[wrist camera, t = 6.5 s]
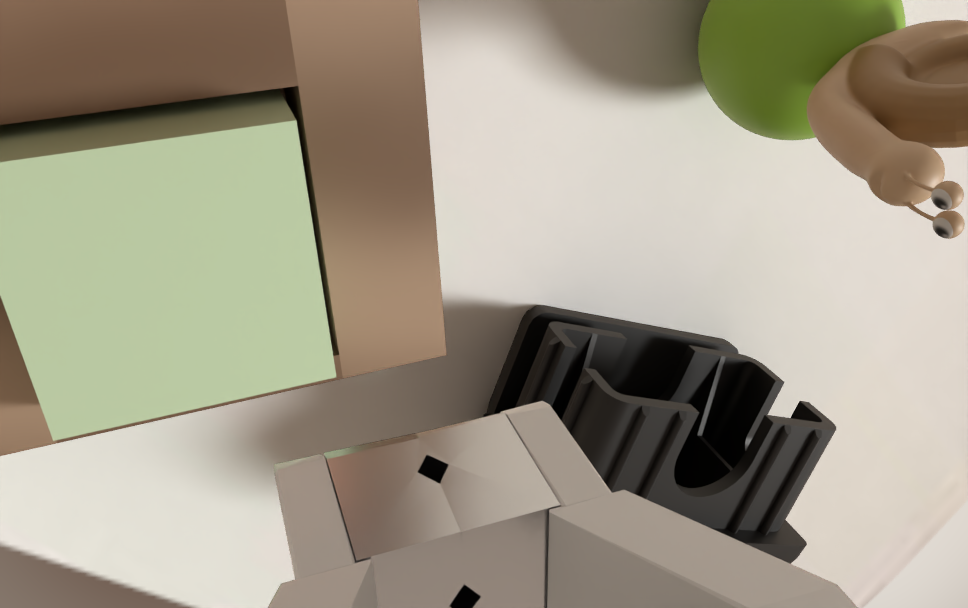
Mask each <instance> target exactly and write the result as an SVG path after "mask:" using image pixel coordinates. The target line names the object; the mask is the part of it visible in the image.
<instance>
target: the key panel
mask: <svg viewBox="0 0 968 608" xmlns="http://www.w3.org/2000/svg"><path fill="white" fill-rule="evenodd" d="M278 88H279V90H280V92H281V94H282V96H283V97H284V99H285V101H286V103H287V104H288V106H289V108H290V110H291V112H292V113H293V115H294V117H295V119H296V121H297V128H298V134H299V140H300V147H301V153H302V160H303V166H304V172H305V179H306V185H307V191H308V198H309V204H310V211H311V217H312V223H313V230H314V236H315V243H316V249H317V255H318V262H319V268H320V275H321V281H322V287H323V294H324V300H325V307H326V313H327V319H328V326H329V332H330V339H331V345H332V351H333V358H334V364H335V371H336V377H335V378H331V379H326V380H322V381H318V382H313V383H309V384H304V385H300V386H295V387H291V388H286V389H282V390H278V391H273V392H269V393H264V394H260V395H255V396H251V397H246V398H242V399H238V400H233V401H229V402H224V403H220V404H215V405H211V406H206V407H202V408H198V409H193V410H189V411H184V412H180V413H175V414H171V415H166V416H162V417H158V418H153V419H149V420H144V421H140V422H135V423H131V424H126V425H122V426H118V427H113V428H109V429H104V430H100V431H95V432H91V433H86V434H82V435H78V436H73V437H69V438H64V439H60V440H55V441H53V439H52V436H51V433H50V430H49V428H48V425H47V422H46V419H45V417H44V414H43V411H42V408H41V406H40V403H39V400H38V398H37V395H36V392H35V389H34V387H33V384H32V381H31V378H30V376H29V373H28V370H27V367H26V365H25V362H24V359H23V356H22V354H21V351H20V348H19V345H18V343H17V340H16V337H15V334H14V332H13V329H12V326H11V323H10V321H9V318H8V315H7V312H6V310H5V307H4V304H3V301H2V299H1V296H0V456H2V455H7V454H11V453H16V452H20V451H24V450H29V449H33V448H38V447H42V446H47V445H51V444H55V443H60V442H64V441H69V440H73V439H78V438H82V437H86V436H91V435H95V434H100V433H104V432H109V431H113V430H117V429H122V428H126V427H131V426H135V425H140V424H144V423H148V422H153V421H157V420H162V419H166V418H171V417H175V416H179V415H184V414H188V413H193V412H197V411H202V410H206V409H210V408H215V407H219V406H224V405H228V404H233V403H237V402H241V401H246V400H250V399H255V398H259V397H264V396H268V395H272V394H277V393H281V392H286V391H290V390H294V389H299V388H303V387H308V386H312V385H317V384H321V383H325V382H330V381H334V380H339V379H343V378H348V377H352V376H356V375H361V374H365V373H370V372H374V371H379V370H383V369H387V368H392V367H396V366H401V365H405V364H410V363H414V362H418V361H423V360H427V359H432V358H436V357H441V356H445V355H447V354H446V342H445V329H444V317H443V304H442V292H441V280H440V267H439V255H438V242H437V230H436V217H435V205H434V193H433V180H432V168H431V155H430V143H429V130H428V118H427V106H426V93H425V81H424V68H423V56H422V43H421V31H420V19H419V6H418V0H0V125H4V124H12V123H19V122H27V121H34V120H42V119H50V118H57V117H65V116H73V115H80V114H88V113H95V112H103V111H111V110H118V109H126V108H134V107H141V106H149V105H156V104H164V103H172V102H179V101H187V100H195V99H202V98H210V97H217V96H225V95H233V94H240V93H248V92H255V91H263V90H271V89H278Z"/></svg>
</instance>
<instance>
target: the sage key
mask: <svg viewBox="0 0 968 608" xmlns="http://www.w3.org/2000/svg"><path fill="white" fill-rule="evenodd" d="M0 296H1V299H2V301H3V304H4V307H5V310H6V312H7V315H8V318H9V321H10V323H11V326H12V329H13V332H14V334H15V337H16V340H17V343H18V345H19V348H20V351H21V354H22V356H23V359H24V362H25V365H26V367H27V370H28V373H29V376H30V378H31V381H32V384H33V387H34V389H35V392H36V395H37V398H38V400H39V403H40V406H41V408H42V411H43V414H44V417H45V419H46V422H47V425H48V428H49V430H50V433H51V436H52V439H53V441H55V440H60V439H64V438H69V437H73V436H78V435H82V434H86V433H91V432H95V431H100V430H104V429H109V428H113V427H118V426H122V425H126V424H131V423H135V422H140V421H144V420H149V419H153V418H158V417H162V416H166V415H171V414H175V413H180V412H184V411H189V410H193V409H198V408H202V407H206V406H211V405H215V404H220V403H224V402H229V401H233V400H238V399H242V398H246V397H251V396H255V395H260V394H264V393H269V392H273V391H278V390H282V389H286V388H291V387H295V386H300V385H304V384H309V383H313V382H318V381H322V380H326V379H331V378H335V377H336V371H335V364H334V358H333V351H332V345H331V339H330V332H329V326H328V319H327V313H326V307H325V300H324V294H323V287H322V281H321V275H320V268H319V262H318V255H317V249H316V243H315V236H314V230H313V223H312V217H311V211H310V204H309V198H308V191H307V185H306V179H305V172H304V166H303V160H302V153H301V147H300V140H299V134H298V128H297V121H296V119H295V117H294V115H293V113H292V112H291V110H290V108H289V106H288V104H287V103H286V101H285V99H284V97H283V96H282V94H281V92H280V90H279V88H278V89H271V90H263V91H255V92H248V93H240V94H233V95H225V96H217V97H210V98H202V99H195V100H187V101H179V102H172V103H164V104H156V105H149V106H141V107H134V108H126V109H118V110H111V111H103V112H95V113H88V114H80V115H73V116H65V117H57V118H50V119H42V120H34V121H27V122H19V123H12V124H4V125H0Z"/></svg>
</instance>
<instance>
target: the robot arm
mask: <svg viewBox="0 0 968 608" xmlns="http://www.w3.org/2000/svg"><path fill="white" fill-rule="evenodd" d="M274 474H275V480H276V485H277V490H278V495H279V500H280V505H281V510H282V515H283V520H284V525H285V531H286V536H287V541H288V546H289V551H290V556H291V561H292V566H293V571H294V576H295V580H292V581H289V582H285V583H282V584H280V586H279V588H278V590H277V592H276V594H275V595H274V597H273V599H272V601H271V603H270V605H269V606H268V608H858V607H857V606H856V605H855V604H854V603H853V602H852V601H851V600H850V598H849V597H848V596H847V595H846V594H845V593H844V592H843V591H842V590H841V588H840V587H839V586H838V585H836V584H834V583H832V582H830V581H828V580H825V579H823V578H821V577H819V576H816V575H814V574H812V573H810V572H807V571H805V570H803V569H801V568H798V567H796V566H794V565H792V564H790V563H787V562H785V561H783V560H781V559H778V558H776V557H774V556H772V555H769V554H767V553H765V552H763V551H760V550H758V549H756V548H754V547H752V546H749V545H747V544H745V543H743V542H740V541H738V540H736V539H734V538H731V537H729V536H727V535H725V534H722V533H720V532H718V531H716V530H714V529H711V528H709V527H707V526H705V525H702V524H700V523H698V522H696V521H693V520H691V519H689V518H687V517H684V516H682V515H680V514H678V513H676V512H673V511H671V510H669V509H667V508H664V507H662V506H660V505H658V504H655V503H653V502H651V501H649V500H646V499H644V498H642V497H640V496H638V495H635V494H633V493H631V492H629V491H626V490H621V491H617V492H613V493H612V492H611V491H610V489H609V488H608V487H607V485H606V484H605V482H604V481H603V480H602V478H601V477H600V475H599V474H598V472H597V471H596V470H595V468H594V467H593V465H592V464H591V462H590V461H589V460H588V458H587V457H586V455H585V454H584V453H583V451H582V450H581V448H580V447H579V445H578V444H577V443H576V441H575V440H574V438H573V437H572V435H571V434H570V433H569V431H568V430H567V428H566V427H565V426H564V424H563V423H562V421H561V420H560V418H559V417H558V416H557V414H556V413H555V411H554V410H553V408H552V407H551V406H550V404H548V403H546V402H544V401H540V402H536V403H532V404H528V405H524V406H520V407H517V408H513V409H509V410H505V411H501V412H500V414H494V415H490V416H486V417H482V418H477V419H473V420H469V421H465V422H461V423H457V424H453V425H449V426H445V427H440V428H436V429H432V430H428V431H424V432H420V433H416V434H415V433H414V434H410V435H405V436H400V437H396V438H391V439H386V440H381V441H377V442H372V443H367V444H363V445H358V446H353V447H349V448H344V449H339V450H335V451H330V452H325V453H324V457H323V456H322V455H321V454H319V455H314V456H310V457H305V458H301V459H296V460H291V461H287V462H282V463H278V464H274Z"/></svg>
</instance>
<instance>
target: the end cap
mask: <svg viewBox="0 0 968 608" xmlns="http://www.w3.org/2000/svg"><path fill="white" fill-rule="evenodd" d="M783 384H784V381H782V380H781V379H780V378H779V377H778V376H776V375H775V374H774V373H773V372H772V371H770V370H769V369H768V368H767V367H766V366H764V365H763V364H762V363H760V362H758V361H757V360H755V359H753V358H751V357H748V356H745V355H741V354H738V350H737V348H735V347H734V346H733V345H732V344H731V343H729V342H728V341H726V340H725V339H719V338H714V337H709V336H703V335H698V334H693V333H687V332H682V331H677V330H671V329H666V328H661V327H655V326H650V325H645V324H639V323H634V322H629V321H623V320H618V319H613V318H607V317H602V316H597V315H591V314H586V313H581V312H575V311H570V310H564V309H559V308H554V307H548V306H535V307H533V308H531V309H530V310H528V311H527V312H526V314H525V315H524V317H523V318H522V320H521V323H520V325H519V328H518V330H517V333H516V336H515V338H514V341H513V343H512V346H511V348H510V351H509V353H508V356H507V358H506V361H505V364H504V366H503V369H502V371H501V374H500V376H499V379H498V381H497V384H496V386H495V389H494V392H493V394H492V397H491V399H490V402H489V406H488V410H487V413H486V414H484V416H483V417H486V416H490V415H494V414H500V412H501V411H505V410H509V409H513V408H517V407H520V406H524V405H528V404H532V403H536V402H540V401H544V402H546V403H548V404H550V406H551V407H552V408H553V410H554V411H555V413H556V414H557V416H558V417H559V418H560V420H561V421H562V423H563V424H564V426H565V427H566V428H567V430H568V431H569V433H570V434H571V435H572V437H573V438H574V440H575V441H576V443H577V444H578V445H579V447H580V448H581V450H582V451H583V453H584V454H585V455H586V457H587V458H588V460H589V461H590V462H591V464H592V465H593V467H594V468H595V470H596V471H597V472H598V474H599V475H600V477H601V478H602V480H603V481H604V482H605V484H606V485H607V487H608V488H609V489H610V491H611V492H612V493H613V492H617V491H621V490H626V491H629V492H631V493H633V494H635V495H638V496H640V497H642V498H644V499H646V500H649V501H651V502H653V503H655V504H658V505H660V506H662V507H664V508H667V509H669V510H671V511H673V512H676V513H678V514H680V515H682V516H684V517H687V518H689V519H691V520H693V521H696V522H698V523H700V524H702V525H705V526H707V527H709V528H711V529H714V530H716V531H718V532H720V533H722V534H725V535H727V536H729V537H731V538H734V539H736V540H738V541H740V542H743V543H745V544H747V545H749V546H752V547H754V548H756V549H758V550H760V551H763V552H765V553H767V554H769V555H772V556H774V557H776V558H778V559H781V560H783V561H785V562H787V563H790V564H791V563H792V562H793V561H794V560H795V559H796V558H797V557H798V556H799V555H800V553H801V552H802V550H803V549H804V548H805V546H806V545H807V543H806V541H805V540H804V539H803V538H802V537H801V536H800V535H799V534H798V533H797V532H796V531H795V530H794V529H793V527H792V526H791V525H790V524H789V523H788V522H787V521H786V520H785V519H786V517H787V516H788V514H789V512H790V510H791V508H792V507H793V505H794V503H795V501H796V500H797V498H798V496H799V494H800V493H801V491H802V489H803V487H804V485H805V484H806V482H807V480H808V478H809V477H810V475H811V473H812V471H813V469H814V468H815V466H816V464H817V462H818V461H819V459H820V457H821V455H822V453H823V452H824V450H825V448H826V446H827V445H828V443H829V441H830V439H831V438H832V436H833V434H834V432H835V430H836V426H835V425H834V424H833V423H832V422H831V421H830V420H829V419H828V418H827V417H826V416H824V415H823V414H822V413H821V412H820V411H818V410H817V409H816V408H815V407H814V406H812V405H811V404H810V403H809V402H804V401H799V403H798V405H797V407H796V409H795V411H794V413H793V414H792V416H791V418H785V417H778V416H771V415H767V414H768V412H769V411H770V409H771V407H772V405H773V403H774V401H775V399H776V397H777V395H778V394H779V392H780V390H781V388H782V386H783Z"/></svg>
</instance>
